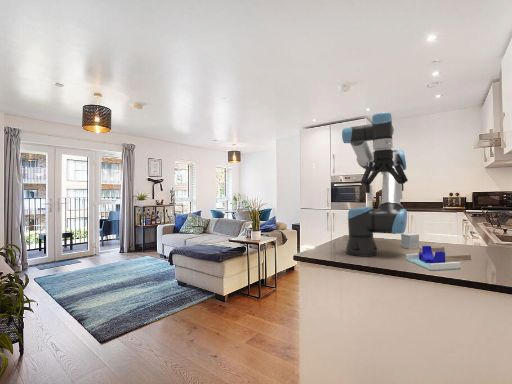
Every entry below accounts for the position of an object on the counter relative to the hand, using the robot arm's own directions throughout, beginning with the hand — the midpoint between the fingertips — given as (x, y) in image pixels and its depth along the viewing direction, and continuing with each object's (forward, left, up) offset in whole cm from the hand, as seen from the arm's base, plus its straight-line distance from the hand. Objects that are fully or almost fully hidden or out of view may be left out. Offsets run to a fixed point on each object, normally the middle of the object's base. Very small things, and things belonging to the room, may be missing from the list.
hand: (384, 199), depth 117 cm
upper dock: (-9, +32, -28) cm, 43 cm away
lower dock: (+2, +18, -28) cm, 33 cm away
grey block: (-28, +28, -28) cm, 48 cm away
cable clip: (+3, +18, -28) cm, 33 cm away
